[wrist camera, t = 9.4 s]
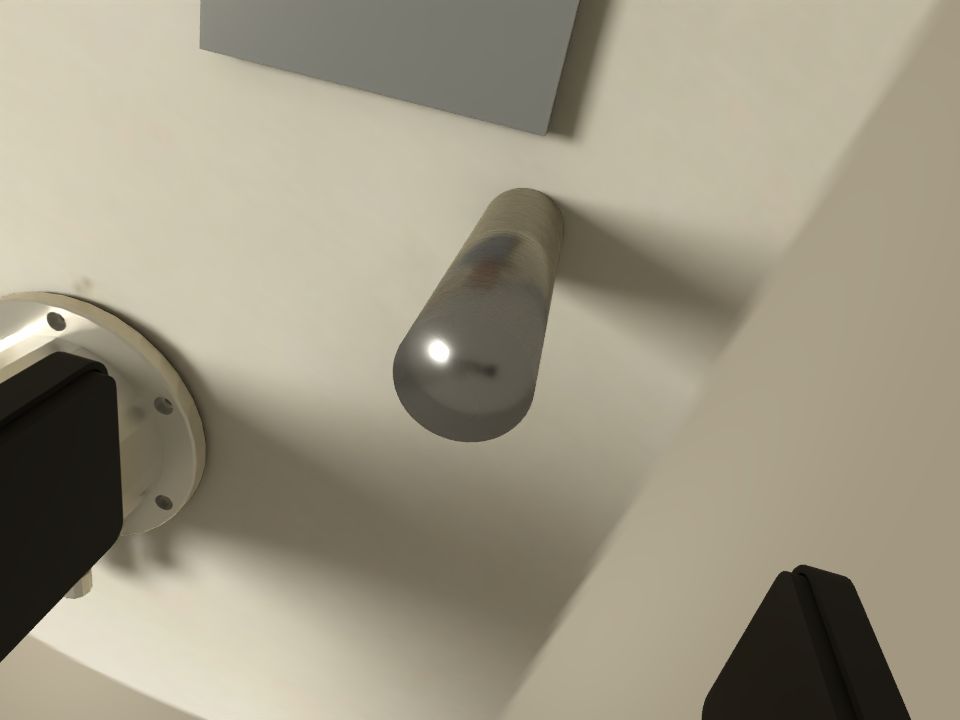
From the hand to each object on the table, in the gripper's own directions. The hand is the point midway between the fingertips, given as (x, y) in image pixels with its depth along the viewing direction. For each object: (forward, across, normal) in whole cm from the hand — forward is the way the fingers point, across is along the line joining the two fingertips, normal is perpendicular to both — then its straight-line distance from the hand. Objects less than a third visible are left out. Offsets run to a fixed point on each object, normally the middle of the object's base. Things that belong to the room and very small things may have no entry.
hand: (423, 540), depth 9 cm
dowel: (+17, +1, 0) cm, 17 cm away
